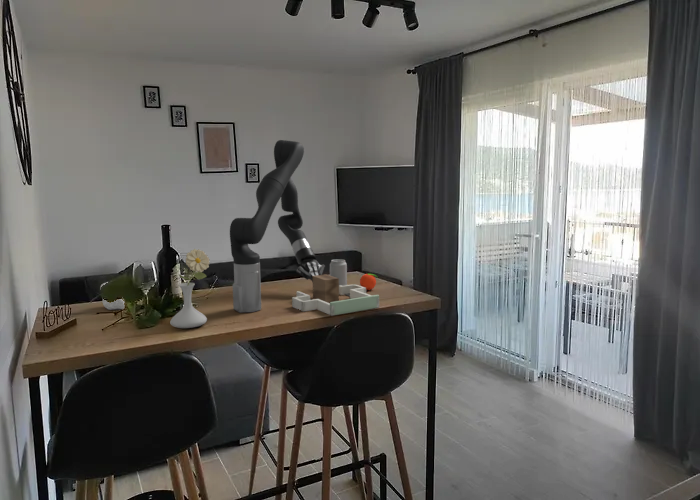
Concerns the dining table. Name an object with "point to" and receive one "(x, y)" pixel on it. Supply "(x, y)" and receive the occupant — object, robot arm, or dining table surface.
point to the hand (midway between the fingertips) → (318, 286)
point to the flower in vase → (188, 313)
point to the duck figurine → (113, 303)
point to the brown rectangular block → (326, 288)
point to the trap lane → (338, 307)
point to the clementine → (368, 281)
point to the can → (339, 271)
